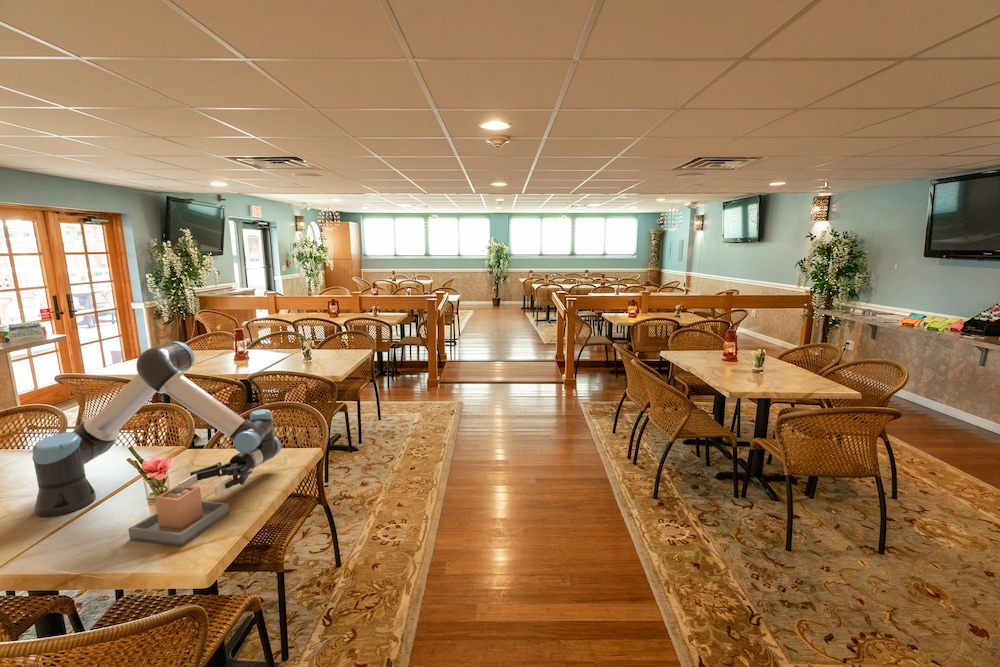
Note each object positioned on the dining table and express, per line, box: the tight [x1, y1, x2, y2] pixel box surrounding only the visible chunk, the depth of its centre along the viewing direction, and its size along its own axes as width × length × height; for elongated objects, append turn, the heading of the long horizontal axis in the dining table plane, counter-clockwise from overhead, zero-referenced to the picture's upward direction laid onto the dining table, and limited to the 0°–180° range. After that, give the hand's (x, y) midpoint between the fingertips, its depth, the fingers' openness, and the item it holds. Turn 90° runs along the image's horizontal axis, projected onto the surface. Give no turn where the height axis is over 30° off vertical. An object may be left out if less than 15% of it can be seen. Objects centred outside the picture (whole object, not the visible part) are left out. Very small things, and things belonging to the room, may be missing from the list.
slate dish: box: [128, 499, 230, 547], centre depth 145 cm, size 18×18×4 cm
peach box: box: [154, 484, 203, 531], centre depth 145 cm, size 8×8×11 cm
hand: (197, 489), depth 151 cm, fingers open, 13 cm apart
